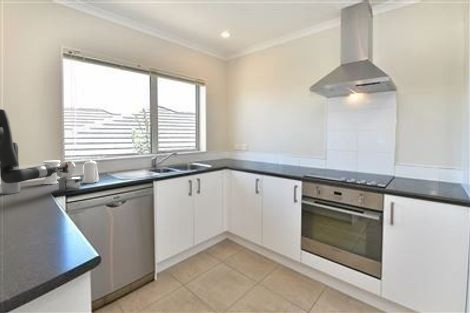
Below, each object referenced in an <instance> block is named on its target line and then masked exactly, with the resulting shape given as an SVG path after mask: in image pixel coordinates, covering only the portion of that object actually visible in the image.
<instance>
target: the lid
mask: <svg viewBox="0 0 470 313" xmlns="http://www.w3.org/2000/svg"><path fill="white" fill-rule="evenodd" d="M59 167H65V170H63V172H57V176H58V177H60V179H65V178H67V177H72V175H73V174H74V173H75V171H76V164H75V163H74V162H72V161H70V160H69V161H68V160H67V161H64V162H62V163H61V164H60V166H59Z"/></svg>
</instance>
